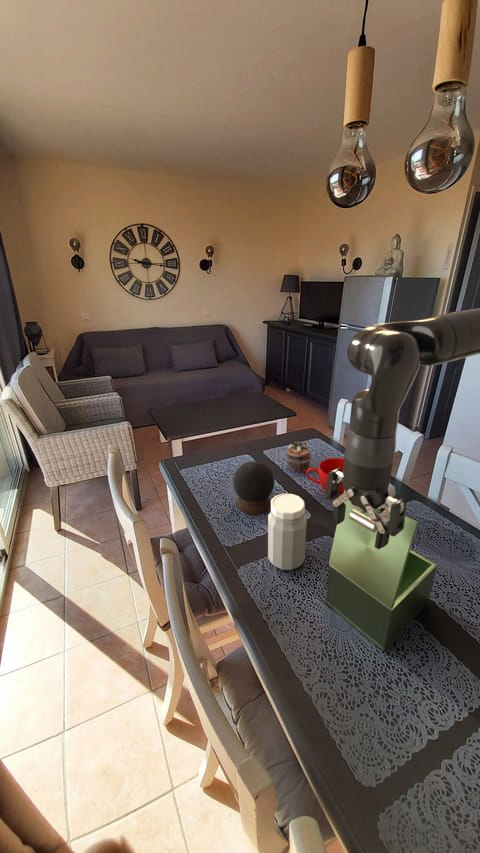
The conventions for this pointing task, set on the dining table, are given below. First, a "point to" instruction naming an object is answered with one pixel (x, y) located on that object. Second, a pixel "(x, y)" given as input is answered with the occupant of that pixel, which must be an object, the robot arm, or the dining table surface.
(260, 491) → the dark sphere on stand
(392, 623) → the bin
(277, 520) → the jar
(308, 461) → the cupcake
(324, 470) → the ceramic cup
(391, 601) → the green lid with handle
